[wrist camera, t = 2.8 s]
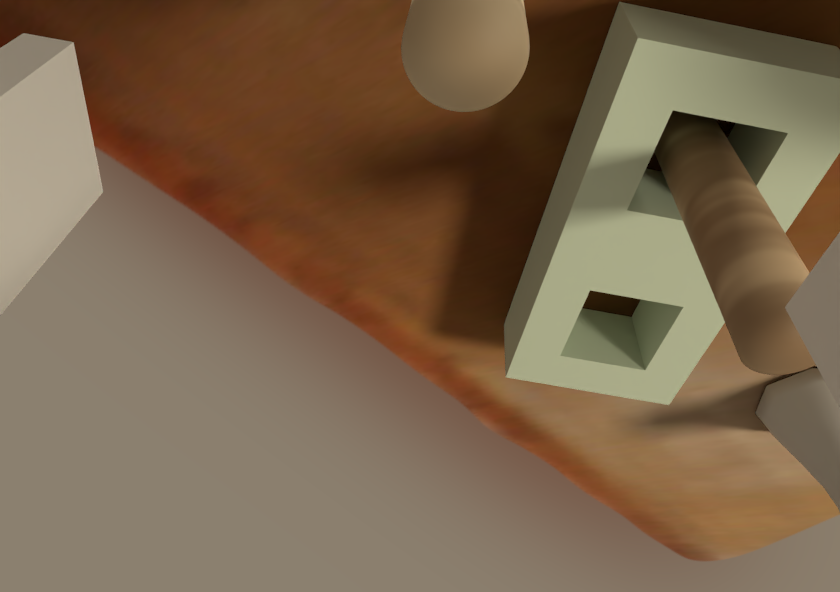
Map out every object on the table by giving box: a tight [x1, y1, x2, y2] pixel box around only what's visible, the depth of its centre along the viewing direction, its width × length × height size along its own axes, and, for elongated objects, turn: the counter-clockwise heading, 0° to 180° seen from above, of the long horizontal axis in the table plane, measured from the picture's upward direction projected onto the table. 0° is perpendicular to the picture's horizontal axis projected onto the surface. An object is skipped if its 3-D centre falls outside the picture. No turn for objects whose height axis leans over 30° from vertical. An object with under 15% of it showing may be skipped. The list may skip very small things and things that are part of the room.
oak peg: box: [654, 111, 816, 375], centre depth 26 cm, size 3×3×15 cm
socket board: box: [504, 2, 840, 405], centre depth 33 cm, size 20×10×4 cm, turn 171°
